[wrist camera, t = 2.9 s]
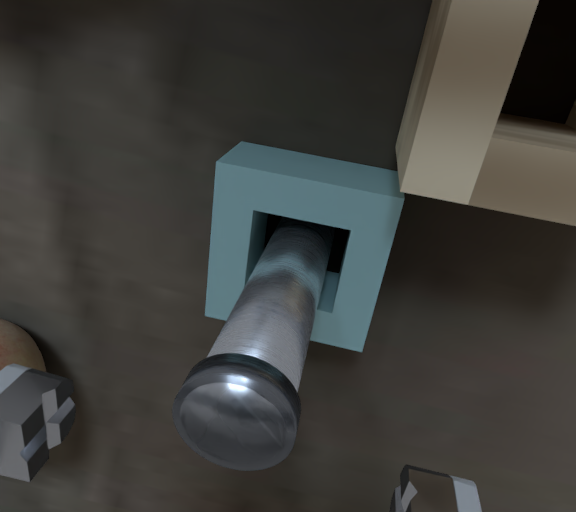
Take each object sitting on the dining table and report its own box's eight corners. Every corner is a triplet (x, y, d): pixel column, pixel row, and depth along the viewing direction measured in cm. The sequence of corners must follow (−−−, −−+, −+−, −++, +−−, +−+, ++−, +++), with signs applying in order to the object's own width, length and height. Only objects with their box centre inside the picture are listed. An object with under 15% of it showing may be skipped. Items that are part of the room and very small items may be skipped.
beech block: (454, -90, 15) (493, -153, 10) (709, -56, 15) (896, -104, 9) (395, 146, 19) (400, 191, 14) (595, 184, 18) (683, 247, 13)
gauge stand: (241, 141, 20) (216, 161, 17) (401, 171, 19) (404, 199, 16) (228, 277, 23) (204, 315, 20) (364, 308, 23) (361, 352, 20)
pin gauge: (279, 193, 21) (173, 362, 10) (345, 206, 21) (305, 394, 10) (271, 251, 22) (170, 453, 12) (332, 264, 22) (285, 483, 11)
